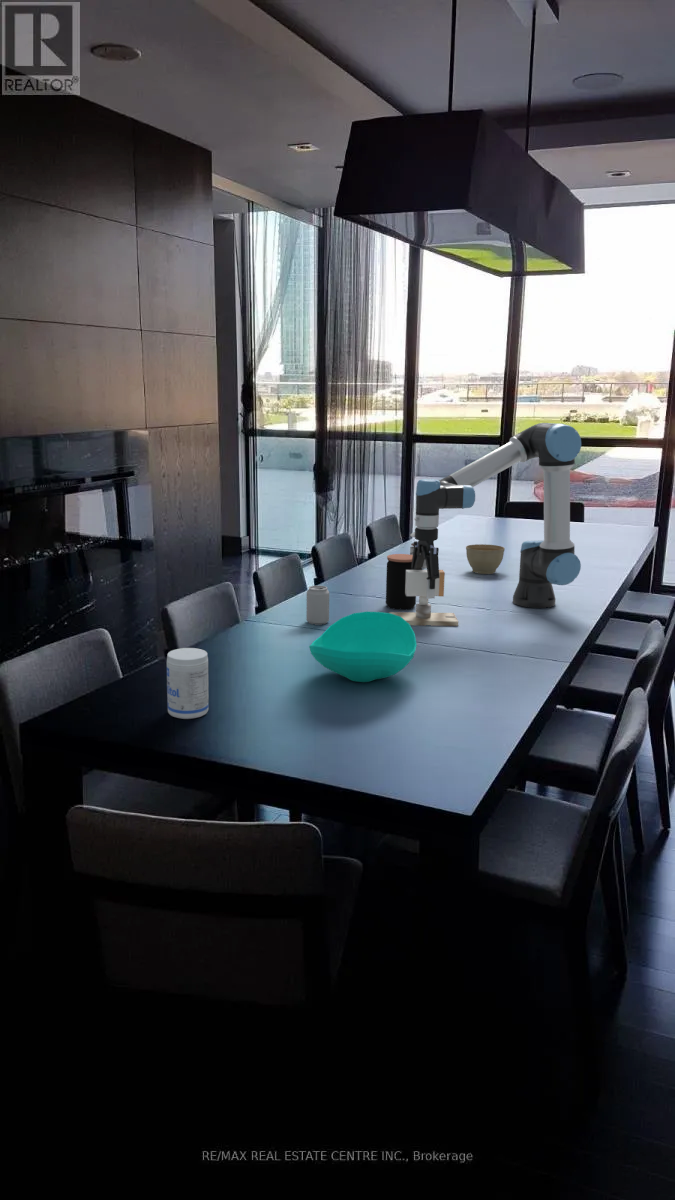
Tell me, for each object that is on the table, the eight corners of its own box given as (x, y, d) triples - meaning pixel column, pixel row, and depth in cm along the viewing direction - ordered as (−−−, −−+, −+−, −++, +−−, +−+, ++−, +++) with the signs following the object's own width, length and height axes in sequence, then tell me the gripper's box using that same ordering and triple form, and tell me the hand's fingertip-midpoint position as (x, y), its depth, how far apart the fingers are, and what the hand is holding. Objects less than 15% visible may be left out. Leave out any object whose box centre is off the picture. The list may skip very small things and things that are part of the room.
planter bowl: (508, 571, 368) (510, 546, 365) (494, 578, 354) (495, 552, 352) (474, 567, 376) (475, 542, 373) (458, 573, 363) (459, 547, 360)
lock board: (453, 617, 292) (454, 601, 291) (458, 625, 281) (459, 609, 280) (388, 616, 292) (389, 600, 291) (391, 625, 281) (391, 608, 280)
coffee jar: (413, 611, 299) (415, 560, 295) (383, 609, 301) (384, 558, 297) (417, 603, 310) (419, 554, 305) (387, 602, 312) (389, 553, 307)
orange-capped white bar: (404, 602, 287) (405, 569, 284) (441, 602, 288) (442, 569, 285) (406, 605, 283) (407, 572, 280) (443, 605, 284) (444, 572, 281)
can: (332, 621, 285) (333, 586, 282) (323, 626, 278) (323, 590, 275) (312, 618, 288) (312, 583, 285) (302, 623, 281) (302, 588, 278)
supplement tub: (159, 713, 203) (157, 653, 199) (190, 702, 210) (189, 644, 206) (186, 723, 197) (184, 662, 193) (217, 712, 204) (216, 652, 200)
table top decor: (399, 708, 208) (401, 656, 204) (290, 697, 214) (290, 646, 211) (425, 660, 245) (427, 615, 242) (331, 651, 252) (332, 608, 249)
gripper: (402, 523, 288) (400, 588, 293) (430, 533, 268) (428, 603, 273) (422, 522, 290) (420, 587, 296) (452, 532, 271) (449, 601, 276)
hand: (423, 595), depth 284 cm, fingers open, 9 cm apart
